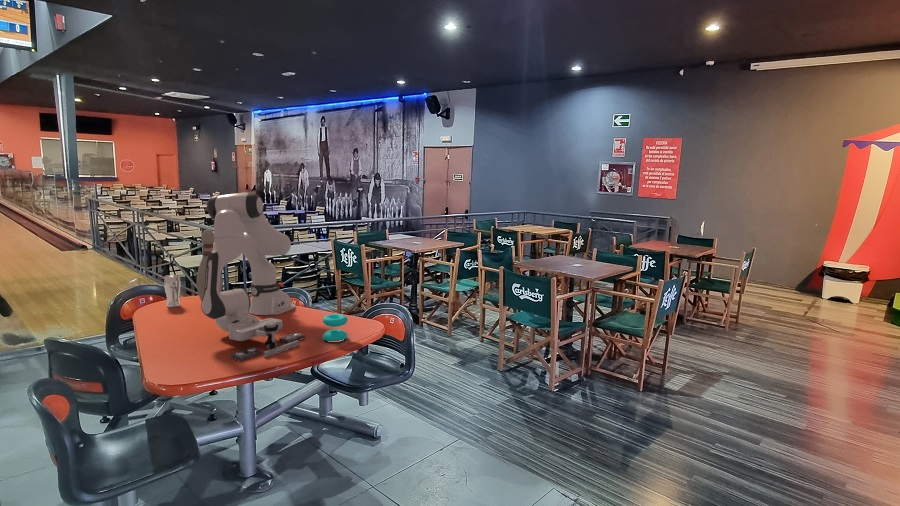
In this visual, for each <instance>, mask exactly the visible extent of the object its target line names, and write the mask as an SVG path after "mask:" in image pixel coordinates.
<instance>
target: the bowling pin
mask: <svg viewBox="0 0 900 506" xmlns="http://www.w3.org/2000/svg"><path fill="white" fill-rule="evenodd" d="M201 240H202V243H203V244H202V245H203V255H202V258H201V260H200V262H199V265H198V269H197V273H196V283H195V284H196V291H197V294H198V297H199V299H200V301H201V302H202V299H203V295H204V285H205V273H206V263H207V257H208V255H209V253H211V252H212V250H213V247H214V230H212V229H209V228H208V229H204V230H203V231H202V234H201ZM222 290H223V274H222V273H221V276H220V290H219V291H220V292H223V291H222Z"/></svg>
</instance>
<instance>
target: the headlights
mask: <svg viewBox="0 0 900 506" xmlns="http://www.w3.org/2000/svg"><path fill="white" fill-rule="evenodd" d="M302 338H305V339H306V334H303V333H300V332H294V333H290V334H287V335H285V336H282V337H279V338H278V339H279V340H278V341H279V343H282V345H279V346H277V347H276V348H273V349H267V350H265V351H263V353H262V350H261V349H259V348H255V347H253V346H252V347H251V346H250V347H248V348H245V349H242V350H239V351H237V352H233V353H231V354H230V359H231V358H233V359H232V360H234V359H236V360H235V361H237V360H239V361H238V362H242V361H241V360H243V361H245V360H244V359H246V360H248V359H250V357H251V358H253V357H252V356H254V357H257V356H259V354H260V355H261V354H263V358H264V357H267V358H269V357H272V356H275V355H277V353H278V354H280V353H283V352H285V350H286V351H288V350H287V349H289V350H291V349H293V348H292V347H294V346H297V345H299V346H300V341H301V340H300V339H302ZM297 340H300V341H297ZM284 343H285V344H284ZM297 347H298V346H297ZM290 348H291V349H290ZM294 348H295V347H294ZM282 351H283V352H282ZM274 354H275V355H274ZM256 355H257V356H256ZM271 355H272V356H271ZM268 356H269V357H268ZM247 358H248V359H247Z"/></svg>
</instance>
